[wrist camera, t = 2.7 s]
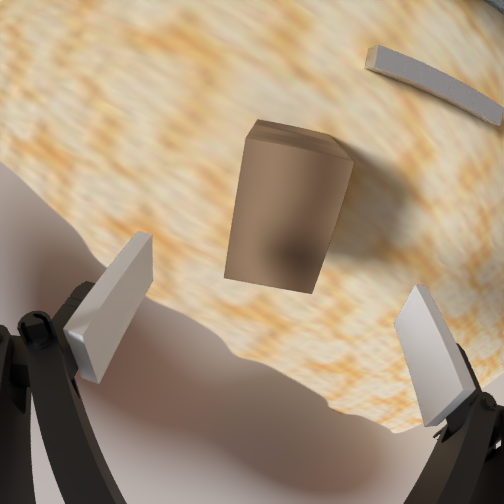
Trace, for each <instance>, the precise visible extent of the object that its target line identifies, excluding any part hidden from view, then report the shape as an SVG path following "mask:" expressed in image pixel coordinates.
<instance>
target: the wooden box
mask: <svg viewBox="0 0 504 504" xmlns="http://www.w3.org/2000/svg"><path fill="white" fill-rule="evenodd" d="M353 166H354V161H353V160H352V159H351V157H350V156H349V155H348V154H347V153H346V152H345V151H344V150H343V149H342V148H341V147H340V145H339V144H338V143H337V142H336V141H335V140H334V139H333V138H332V137H331V136H330V135H328V134H324V133H320V132H316V131H312V130H308V129H303V128H299V127H294V126H289V125H285V124H280V123H275V122H269V121H264V120H258V119H257V121H256V123H255V124H254V126H253V127H252V129H251V131H250V132H249V134H248V135H247V137H246V140H245V146H244V152H243V158H242V164H241V170H240V176H239V182H238V188H237V194H236V200H235V207H234V213H233V219H232V226H231V232H230V239H229V246H228V252H227V259H226V266H225V273H224V278H226V279H232V280H237V281H242V282H247V283H253V284H258V285H264V286H269V287H275V288H280V289H286V290H291V291H297V292H303V293H309V294H312V292H313V290H314V287H315V284H316V281H317V279H318V276H319V273H320V270H321V267H322V264H323V261H324V259H325V256H326V253H327V250H328V247H329V244H330V241H331V238H332V235H333V232H334V229H335V225H336V222H337V219H338V216H339V213H340V210H341V206H342V203H343V200H344V197H345V193H346V190H347V187H348V183H349V180H350V176H351V173H352V169H353Z"/></svg>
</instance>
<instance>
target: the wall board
mask: <svg viewBox="0 0 504 504" xmlns="http://www.w3.org/2000/svg"><path fill="white" fill-rule="evenodd" d="M484 1H486V2H487V3H489V4H490V5H492V6H493V7H494V8H496V9H497V10H499V11H500V12H501V13H503V14H504V0H484Z"/></svg>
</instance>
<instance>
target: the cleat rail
mask: <svg viewBox="0 0 504 504" xmlns="http://www.w3.org/2000/svg"><path fill="white" fill-rule="evenodd" d="M365 69H368V70H371V71H374V72H377V73H380V74H383V75H386V76H389V77H391V78H394V79H397V80H399V81H402V82H404V83H407V84H409V85H412V86H414V87H417V88H419V89H421V90H424V91H426V92H428V93H430V94H433V95H435V96H437V97H439V98H441V99H443V100H445V101H447V102H449V103H451V104H453V105H455V106H457V107H459V108H461V109H463V110H465V111H467V112H469V113H471V114H473V115H474V116H476V117H478V118H480V119H481V120H483V121H486V122H489V123H492V124H495V125H498V126H500V125H501V120H502V116H503V112H504V107H502V106H501V105H499V104H498V103H496V102H494V101H493V100H491V99H490V98H488V97H486V96H485V95H483V94H482V93H480V92H478V91H477V90H475V89H473V88H471V87H470V86H468V85H466V84H464V83H462V82H461V81H459V80H457V79H455V78H453V77H451V76H449V75H447V74H445V73H443V72H441V71H439V70H437V69H435V68H433V67H431V66H429V65H427V64H424V63H422V62H420V61H418V60H415V59H413V58H411V57H408V56H406V55H404V54H401V53H399V52H396V51H393V50H391V49H388V48H385V47H383V46H380V45H377V46H374V47H372V48H369V49H368V54H367V58H366V63H365Z"/></svg>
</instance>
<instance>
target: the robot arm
mask: <svg viewBox="0 0 504 504" xmlns="http://www.w3.org/2000/svg"><path fill="white" fill-rule="evenodd" d="M152 282H153V258H152V234H149V233H144V232H139V231H138V232H137V233H136V234H135V235H134V236H133V237H132V239H131V240H130V241H129V242H128V243H127V245H126V246H125V247H124V248H123V250H122V251H121V252H120V253H119V254H118V256H117V257H116V258H115V259H114V261H113V262H112V263H111V264H110V266H109V267H108V268H107V270H106V271H105V272H104V273H103V275H102V276H101V277H100V279H99V280H98V281H97V283H92V282H88V281H86V282H84V283H82V284H81V285H79V286H78V287H76V288H75V290H74V291H73V292H72V293H71V295H70V297H68V299H67V300H66V301H65V304H63V305H62V306H61V308H60V309H59V310H58V312H57V313H56V314H55V316H54V317H53V318H52V320H51V318H50V316H49V315H48V314H47V313H45V312H42V311H32V312H30V313H27V314H26V315H24V316H23V317H22V318H21V320H20V321H19V323H18V328H17V329H18V331H19V333H20V336H14V335H10V333H9V331H8V329H7V328H6V327H5V326H3V325H0V504H36V501H35V493H34V485H33V475H32V461H31V435H30V420H31V418H30V417H31V393H32V396H33V401H34V405H35V410H36V415H37V419H38V423H39V427H40V431H41V435H42V439H43V442H44V446H45V449H46V452H47V455H48V459H49V462H50V465H51V468H52V471H53V474H54V476H55V479H56V482H57V484H58V487H59V489H60V492H61V495H62V497H63V500H64V502H65V504H127V503H126V501H125V500H124V498H123V496H122V494H121V492H120V490H119V488H118V486H117V484H116V482H115V480H114V478H113V476H112V474H111V472H110V470H109V468H108V465H107V463H106V461H105V459H104V457H103V454H102V452H101V450H100V447H99V445H98V442H97V440H96V438H95V435H94V433H93V430H92V427H91V425H90V422H89V419H88V416H87V414H86V411H85V408H84V405H83V402H82V399H81V396H80V393H79V389H78V386H77V383H76V380H75V377H74V376H75V374H76V372H77V371H78V370H79V372H80V374H81V377H82V378H84V379H87V380H90V381H92V382H95V383H98V384H99V383H100V381H101V378H102V377H103V375H104V373H105V371H106V368H107V366H108V364H109V362H110V360H111V358H112V356H113V354H114V352H115V350H116V348H117V346H118V345H119V342H120V341H121V339H122V337H123V335H124V333H125V331H126V329H127V327H128V325H129V324H130V322H131V320H132V318H133V316H134V314H135V312H136V311H137V309H138V307H139V305H140V303H141V301H142V300H143V298H144V296H145V294H146V292H147V291H148V289H149V287H150V285H151V284H152ZM394 326H395V329H396V332H397V335H398V338H399V341H400V344H401V347H402V350H403V353H404V356H405V359H406V362H407V365H408V368H409V372H410V375H411V378H412V382H413V385H414V389H415V392H416V396H417V399H418V403H419V407H420V410H421V414H422V418H423V422H424V426H425V427H429V426H437V425H439V424H440V423H441V422H442V421H443V420H444V419H445V418H446V420H447V424H446V425H445V426H444V427H443V428H442V429H441V430H440V431H438V432H437V433H436V434H435V435H434V436H433V438H435V437H437V436H438V435H439V434H440V436H439V438H438V439H437V440H438V441H437V443H436V445H435V447H434V449H433V451H432V453H431V455H430V457H429V459H428V461H427V463H426V465H425V467H424V469H423V471H422V473H421V474H420V477H419V478H418V480H417V482H416V483H415V485H414V487H413V489H412V490H411V492H410V494H409V496H408V497H407V499H406V500H405V502H404V504H504V406H500V405H497V403H496V401H495V399H494V398H493V396H491V395H490V394H489V393H487V392H482V390H481V388H480V385H479V383H478V380H477V378H476V376H475V373H474V371H473V369H472V368H471V364H470V362H468V358H467V355H466V353H465V351H464V350H463V349H462V348H461V346H460V345H459V344H457V343H456V342H455V340H454V338H453V336H452V334H451V332H450V330H449V328H448V326H447V324H446V322H445V320H444V318H443V316H442V314H441V312H440V310H439V308H438V306H437V304H436V302H435V301H434V299H433V297H432V295H431V293H430V291H429V290H428V288H427V286H422V285H417V284H415V286H414V287H413V289H412V291H411V293H410V295H409V297H408V299H407V301H406V302H405V304H404V306H403V308H402V310H401V311H400V313H399V315H398V317H397V318H396V320H395V322H394ZM500 440H501V446H500V447H498V448H497V449H496V444H497V443H498V442H499V441H500Z"/></svg>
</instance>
